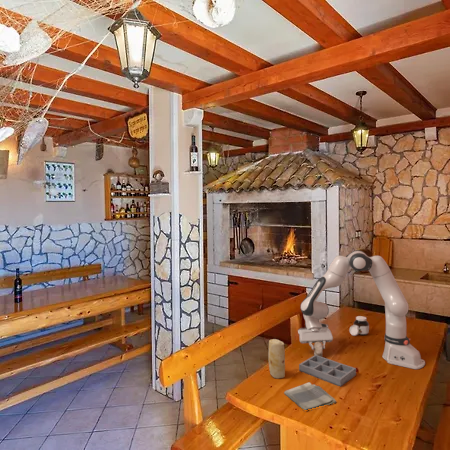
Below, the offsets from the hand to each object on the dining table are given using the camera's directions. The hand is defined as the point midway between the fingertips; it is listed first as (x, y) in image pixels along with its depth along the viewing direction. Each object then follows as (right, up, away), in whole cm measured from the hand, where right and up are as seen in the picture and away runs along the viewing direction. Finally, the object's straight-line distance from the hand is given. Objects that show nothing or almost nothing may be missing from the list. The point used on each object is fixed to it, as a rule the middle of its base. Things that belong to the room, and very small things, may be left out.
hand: (318, 349), depth 217 cm
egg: (0, -5, +1) cm, 5 cm away
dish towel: (-15, -10, -43) cm, 47 cm away
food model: (-29, -8, -21) cm, 36 cm away
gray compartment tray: (0, -7, -19) cm, 20 cm away
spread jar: (+38, -2, +36) cm, 53 cm away
